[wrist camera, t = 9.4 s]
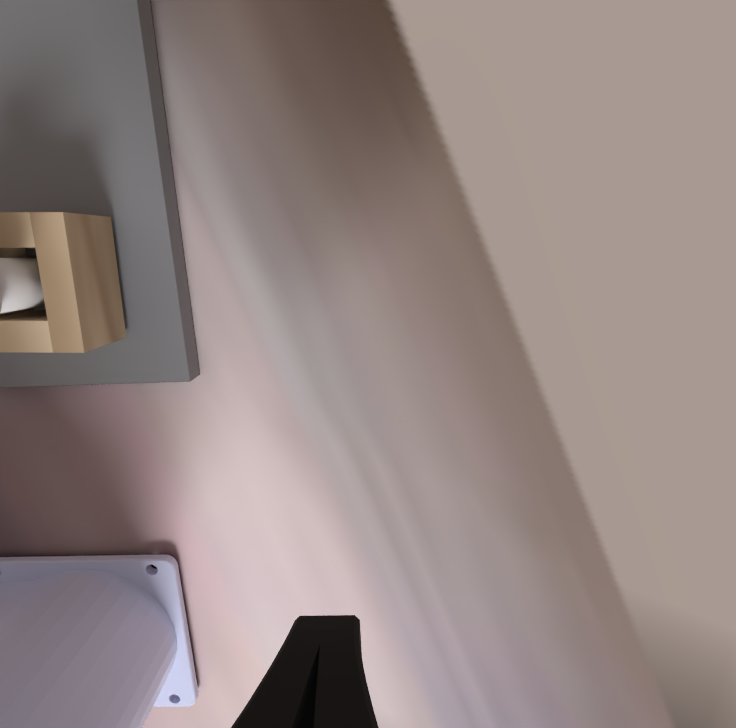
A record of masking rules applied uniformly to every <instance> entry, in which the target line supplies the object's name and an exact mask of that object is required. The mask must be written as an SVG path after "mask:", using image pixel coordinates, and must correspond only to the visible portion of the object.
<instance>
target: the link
mask: <svg viewBox="0 0 736 728" xmlns="http://www.w3.org/2000/svg"><path fill="white" fill-rule="evenodd" d="M25 248H35V249H36V255H37V261H38V267H39V273H40V279H41V285H42V290H43V296H44V302H45V308H46V310H36V309H35V307H34V308H28V309H23V310H17V311H12V312H6V313H0V352H34V353H85V352H88V351H90V350H93V349H96V348H99V347H102V346H104V345H107V344H110V343H113V342H115V341H118V340H121V339H124V338H126V331H125V323H124V315H123V308H122V300H121V292H120V284H119V277H118V269H117V261H116V254H115V246H114V238H113V230H112V223H111V217H107V216H97V215H87V214H77V213H67V212H0V258H13V257H26V251H25Z"/></svg>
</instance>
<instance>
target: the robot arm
mask: <svg viewBox="0 0 736 728" xmlns="http://www.w3.org/2000/svg"><path fill="white" fill-rule="evenodd" d="M151 565H154V566H156V567H157V569H154V568H152V567H151ZM197 697H198V686H197V680H196V674H195V668H194V662H193V655H192V649H191V643H190V637H189V631H188V624H187V618H186V612H185V606H184V600H183V594H182V587H181V581H180V575H179V569H178V564H177V561H176V560H175V559H174V557H172V556H170V555H165V554H164V555H104V556H44V557H0V728H143V726H144V724H145V722H146V720H147V718H148V716H149V714H150V712H151V710H152V708H153V707H187V706H191V705H193V704H194V703H195V702H196V699H197ZM231 728H378V725H377V721H376V718H375V714H374V711H373V707H372V703H371V699H370V695H369V691H368V687H367V683H366V678H365V673H364V668H363V663H362V653H361V635H360V620H359V619H358V618H357V617H356V616H355V615H344V616H299V617H298V618H297V619H296V620H295V622H294V624H293V626H292V628H291V630H290V632H289V634H288V636H287V638H286V640H285V641H284V643H283V645H282V647H281V649H280V651H279V652H278V654H277V656H276V658H275V659H274V661H273V663H272V665H271V666H270V668H269V670H268V671H267V673H266V675H265V676H264V678H263V679H262V681H261V683H260V684H259V686H258V687H257V689H256V691H255V692H254V694H253V696H252V697H251V699H250V700H249V702H248V703H247V705H246V707H245V708H244V710H243V711H242V713H241V714H240V715H239V717H238V718H237V720H236V721H235V723H234V724H233V726H232V727H231Z"/></svg>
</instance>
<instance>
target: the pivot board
mask: <svg viewBox="0 0 736 728" xmlns="http://www.w3.org/2000/svg"><path fill="white" fill-rule="evenodd" d="M0 212H67V213H77V214H87V215H97V216H107V217H111V223H112V230H113V238H114V246H115V254H116V261H117V269H118V277H119V284H120V292H121V300H122V308H123V315H124V323H125V331H126V338H124V339H121V340H118V341H115V342H113V343H110V344H107V345H104V346H102V347H99V348H96V349H93V350H90V351H88V352H85V353H34V352H0V388H2V387H33V386H64V385H96V384H127V383H158V382H189V381H191V380H193V379H194V378H196V377H197V376H198V375H200V372H199V364H198V357H197V349H196V342H195V334H194V327H193V319H192V312H191V304H190V297H189V289H188V282H187V274H186V267H185V259H184V252H183V244H182V237H181V229H180V222H179V214H178V207H177V199H176V192H175V184H174V177H173V169H172V162H171V154H170V147H169V139H168V132H167V124H166V117H165V109H164V102H163V94H162V87H161V79H160V72H159V64H158V57H157V49H156V42H155V34H154V27H153V19H152V12H151V4H150V0H0ZM25 251H26V257H13V258H0V313H6V312H12V311H17V310H23V309H28V308H34V307H35V309H36V310H46V308H45V302H44V296H43V290H42V285H41V279H40V273H39V267H38V261H37V255H36V249H35V248H25Z"/></svg>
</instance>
